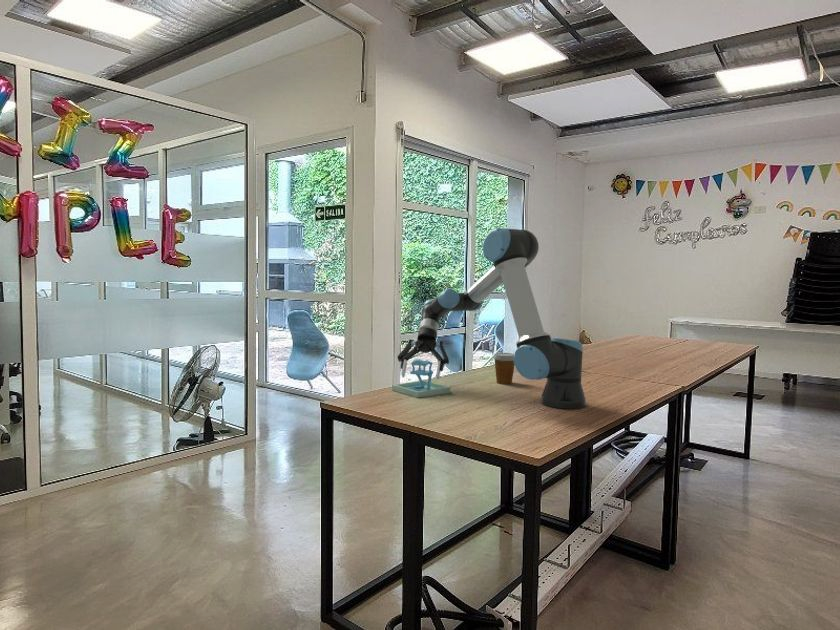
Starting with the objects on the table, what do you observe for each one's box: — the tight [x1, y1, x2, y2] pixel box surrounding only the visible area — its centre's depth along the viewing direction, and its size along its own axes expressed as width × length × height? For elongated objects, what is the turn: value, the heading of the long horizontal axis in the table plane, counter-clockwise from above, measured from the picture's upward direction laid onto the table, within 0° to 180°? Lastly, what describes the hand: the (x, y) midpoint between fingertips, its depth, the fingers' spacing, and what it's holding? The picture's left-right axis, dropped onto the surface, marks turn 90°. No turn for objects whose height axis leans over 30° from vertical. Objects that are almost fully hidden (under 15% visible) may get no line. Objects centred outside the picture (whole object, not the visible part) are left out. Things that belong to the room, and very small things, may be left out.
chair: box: [408, 358, 434, 391], centre depth 212 cm, size 8×8×12 cm
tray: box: [391, 379, 452, 399], centre depth 212 cm, size 16×16×2 cm
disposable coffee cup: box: [492, 352, 515, 385], centre depth 231 cm, size 10×10×12 cm
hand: (420, 376), depth 210 cm, fingers open, 13 cm apart
